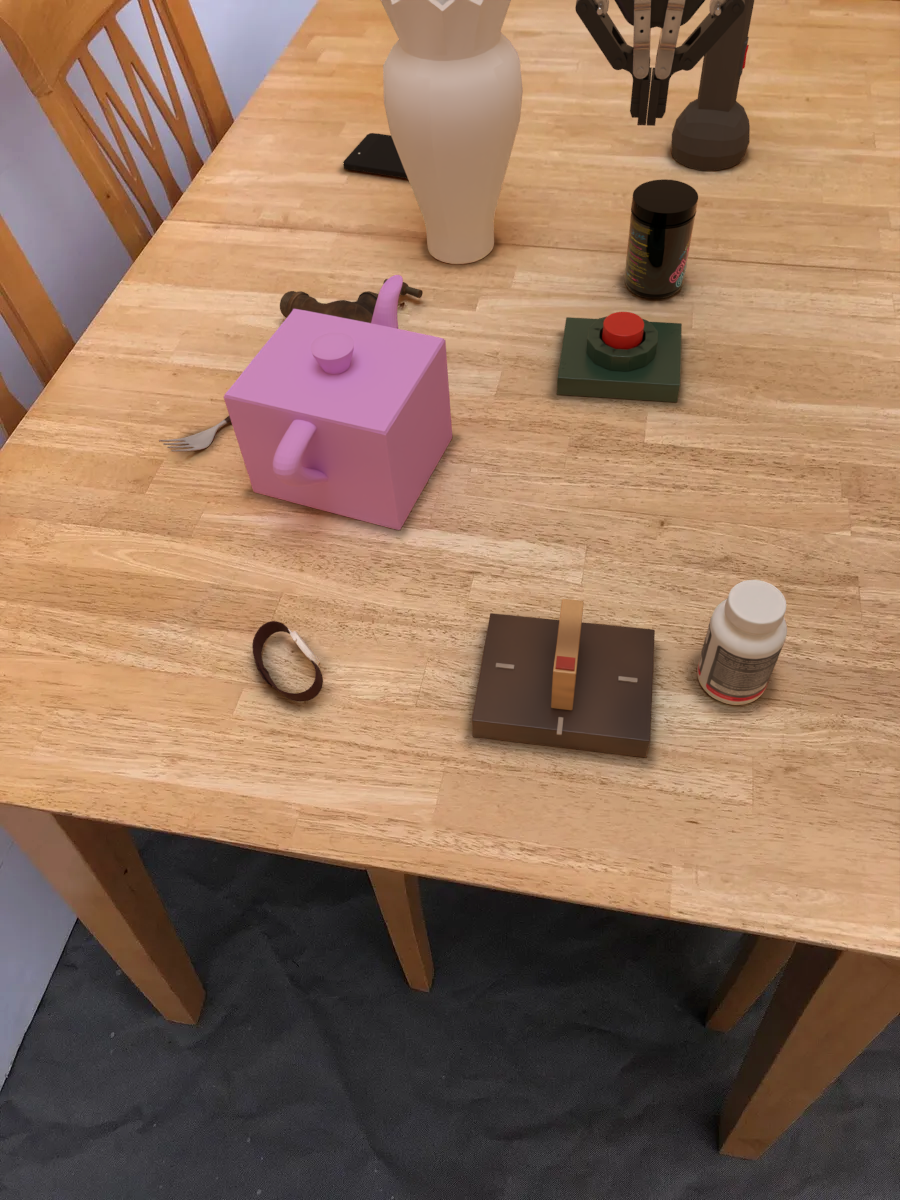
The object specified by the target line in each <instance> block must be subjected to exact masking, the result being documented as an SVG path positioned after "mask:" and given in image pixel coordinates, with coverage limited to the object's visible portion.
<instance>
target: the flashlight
mask: <svg viewBox="0 0 900 1200" xmlns="http://www.w3.org/2000/svg"><path fill="white" fill-rule="evenodd" d="M744 2H745V9H744V11H743V13H742V14H741V15H740V16H739V18H738V19H737V20H736V21H735V22H734V23H733V24H732V25H731V26H730V28H729V29H728V30H727V31H726V32H725V33H724V34H723V35H722V36H721V38H720V39H719V40H718V41H717V42H716V43H715V44H714V45H713V46H712V47H711V49H710V50H709V51H708V52H707V53H706V54H705V55H704V56H703V58H702V67H701V72H700V73H701V74H700V80H699V86H698V93H697V98H696V99H694V100H692V101H689V103H688V104H687V105H686V106H685V108H684V109H683V110H682V111H681V113H680V114H679V115H678V117H677V118H676V119H675V123H674V125H673V129H672V132H671V152H672V153H671V157H672V158H673V159H674V160H675V161H676V162H677V163H679V164H681V165H683V166H685V167H687V168H689V169H693V170H698V171H700V172H701V171H702V172H703V171H705V172H708V171H709V172H711V171H721V170H725V169H730V168H732V167H735V166H736V165H738V164H740V163H741V161H742V160H743V159H744V157H745V155H746V153H747V149H748V146H749V144H750V133H751V132H750V129H751V126H750V119H749V117H748V114H747V112H746V109H745V107H744V106H743V105H742V104H741V103H740V102H738V100H737V97H738V93H739V87H740V80H741V76H742V75H743V71H744V69H745V68H746V63H747V62H746V61H747V54H748V51H749V46H750V45H749V44H748V43H749V38H750V37H749V32H750V25H751V22H752V21H751V20H752V15H753V10H754V4H755V0H744Z"/></svg>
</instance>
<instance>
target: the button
mask: <svg viewBox="0 0 900 1200" xmlns="http://www.w3.org/2000/svg"><path fill="white" fill-rule="evenodd" d="M605 317H606V316H605ZM642 319H643V318H642V317H641V316H640V315H638V314H636V313H634V312H630V311H616V312H613V313H610V314H609V315H607V317H606V318H605V320H604V323H603V333H602V339H603V341H604V343H605V344H606V345H607V346H610V347H612V348H614V349H626V350H628V349H631V348H635V347H637V346H638V345H639V344H640V343H641V342H642V339H643V331H644V321H643V320H642Z"/></svg>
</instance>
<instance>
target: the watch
mask: <svg viewBox="0 0 900 1200" xmlns="http://www.w3.org/2000/svg"><path fill="white" fill-rule="evenodd" d="M279 632H280V633H282V632H283V633H286V634H289V635H290V637H291V639H292V641H293V642H294V643H295V644H296V645H297V647H298V648H299V649H300V651H301V652H302V653H303V654H304V656H305V657H306V658H307V659H308V660H309V661H310V662H311V664H312V666H313V668H314V670H315V671H314V672H315V677H314V681H313V683H312V684H311V686H310V687H309V688H307V689H306V690H304V691H300V692H295V693H294V692H288V691H284V690H282V689H280V688H278V686H277V684H276V683H275V682H274V680H273V679H272V677H271V675H270V672H269V670H268V669H267V668H266V667H265V665H264V661H263V656H262V655H263V648H264V647H265V643H266V642H267V640H268V639H269V638H270V637H271V636H272V635H274V634H276V633H279ZM251 647H252V655H253V659H254V663H255V666H256V670H257V671H258V672H259V674H260V676H261V678H262V679H263V681H264V682H265V683H266V684H268V685H269V687H271V688H272V687H273V688H274V689H275V690H276V691H277V692H278V693H279V694H281V695H282V696H283V697H285V698H286V699H288V700H290V701H294V702H300V703H301V702H309V701H311V700H313V699H314V698H316V697H317V696H318V695H319V694H320V692H321V690H322V689H323V685H324V678H323V673H322V671H321V667H320V665H319V664H320V663H321V660H320V658H319V657H318V656H317V655H316V653H315V652H314V650H313V649H312V648H311V647H310V645H309V644H308V643H307V642H306V641H305V639H303V637H302V636H301V635H300V634H299V633H298V632H297V631H296V630H293V631H292V630H291V629H290V628H289V627H288V626H287V625H285V624H284V623H282V622H281V621H278V620H271V621H267V622H265V623H263V624H262V625H261V626H260V627H258V629H257V631H256V632H255V634H254V637H253V639H252V645H251Z"/></svg>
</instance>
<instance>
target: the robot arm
mask: <svg viewBox="0 0 900 1200" xmlns="http://www.w3.org/2000/svg"><path fill="white" fill-rule="evenodd" d="M614 2H615V4H616V6H617V8H618V9H619V11H620V12H621V14H622V16H623V18H624V19H625V21H626V22H627V23H628V24H629V25H631V26H633V40H632V41H633V43H632V46H631V45H629V44H627V41H625V39H624V37H623V35H622V33H621V32H620V31H619V29H618V28H617V26H616V24H615V23H614V21H613V19H612V18H611V16H610V15H609V14H608V13H609V12H608V11H609V7H610V0H576V1H575V8H574V9H575V10H574V11H575V13H576V14H577V16H578V17H579V19H580V20H581V22H582V24H583V25H584V27H585V28H586V30H587V31H588V33H589V35H590V36H591V38H592V39H593V40H594V42H595V44H596V45H597V46H598V48H599V50H600V52H601V53H602V54H603V55H604V57H605V59H606V60H607V62H608V63H609V65H610V66H611V67H612V69H613V70H616V71H621V70H624V71H626V72H628V73H630V75H631V77H632V86H631V95H630V106H629V112H630V113H629V114H630V117H631V118H633V119H637V122H636V123H637V124H636V126H648V127H649V126H650V127H651V126H653V127H655V126H656V122H657V121H656V120H657V119H663V117H664V116H665V113H666V110H667V101H668V94H669V86H670V79H671V78H672V76H673V75H674V74H676V73H677V72H681V71H686V72H687V71H691V70H693V69H694V68H695V67H696V65H698V63H699V62H701V60H703V58H704V55H705V54H706V53H707V52H708V51H709V50H710V49H711V47H712V46H713V45H714V44H715V43H716V42H717V41H718V40H719V39H720V38H721V36H722V35H723V34H724V33H725V32H726V31H727V30H728V29H729V28H730V26H731V25H732V24H733V23H734V22H735V21H736V20H737V19H738V18H739V16H740V15H741V14H742V13H743V11H744V9H745V2H744V0H709V4H708V6H709V13H708V14H707V15H706V16H705V17H704V18H703V20H702V21H701V22H700V23H699V24H698V25H697V27H696V28H695V29H694V30H693V31H692V32H691V33H690V35H689V36H688V37H687V38H686V39H685V41H683V43H682V44H681V45H679V46H677V44H678V39H679V34H680V28H681V27H682V26H684V25H685V24H687V23H688V22H689V21H690V20H691V19H692V18H693V16H694V15H695V14H696V13H697V11H698V10H699V9H700V8H701V7H702V6H703V4H704V3H705V2H706V0H614ZM654 28H659V29H660V33H659V38H658V44H657V49H656V56H655V63H654V64H655V65H654V67H651V40H652V39H651V36H652V35H651V34H652V29H654Z"/></svg>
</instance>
